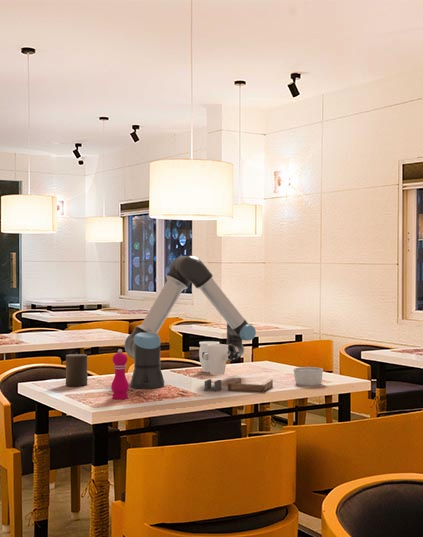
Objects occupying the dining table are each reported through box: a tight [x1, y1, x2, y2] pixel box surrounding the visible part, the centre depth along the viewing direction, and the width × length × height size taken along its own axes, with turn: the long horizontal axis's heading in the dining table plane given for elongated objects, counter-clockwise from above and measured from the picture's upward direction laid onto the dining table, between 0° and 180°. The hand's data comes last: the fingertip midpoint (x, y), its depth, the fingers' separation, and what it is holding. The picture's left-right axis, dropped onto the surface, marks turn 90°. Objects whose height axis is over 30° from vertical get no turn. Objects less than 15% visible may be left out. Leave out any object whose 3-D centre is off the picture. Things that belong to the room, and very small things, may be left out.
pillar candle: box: [65, 352, 88, 388], centre depth 342 cm, size 10×10×15 cm
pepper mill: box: [110, 348, 130, 400], centre depth 307 cm, size 7×7×20 cm
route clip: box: [203, 379, 223, 392], centre depth 326 cm, size 6×6×4 cm
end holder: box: [227, 378, 274, 393], centre depth 329 cm, size 16×16×3 cm
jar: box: [198, 340, 220, 373], centre depth 384 cm, size 11×10×15 cm
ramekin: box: [293, 366, 324, 387], centre depth 341 cm, size 13×13×7 cm
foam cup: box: [207, 343, 228, 376], centre depth 340 cm, size 10×9×13 cm
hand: (214, 357), depth 336 cm, fingers closed on foam cup, 9 cm apart
